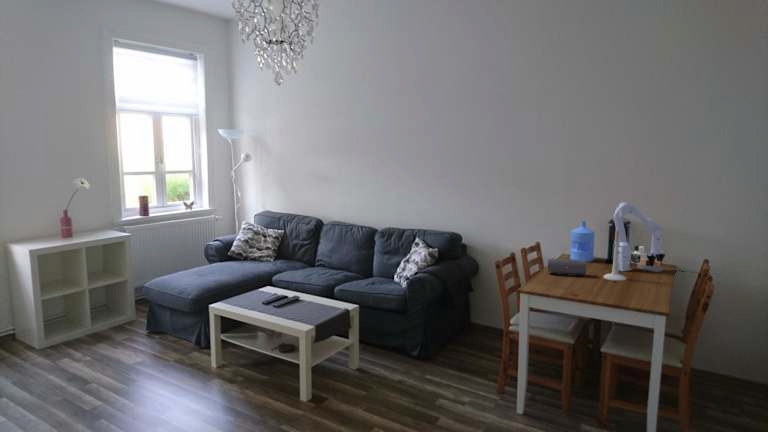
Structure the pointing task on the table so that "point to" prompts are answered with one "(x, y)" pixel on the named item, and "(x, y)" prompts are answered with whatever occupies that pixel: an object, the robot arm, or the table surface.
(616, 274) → the candlestick
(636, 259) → the medicine bottle
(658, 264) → the tan matte cube
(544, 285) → the table surface
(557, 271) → the bluetooth speaker
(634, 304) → the table surface
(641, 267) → the grey rimmed tray
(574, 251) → the water jug
